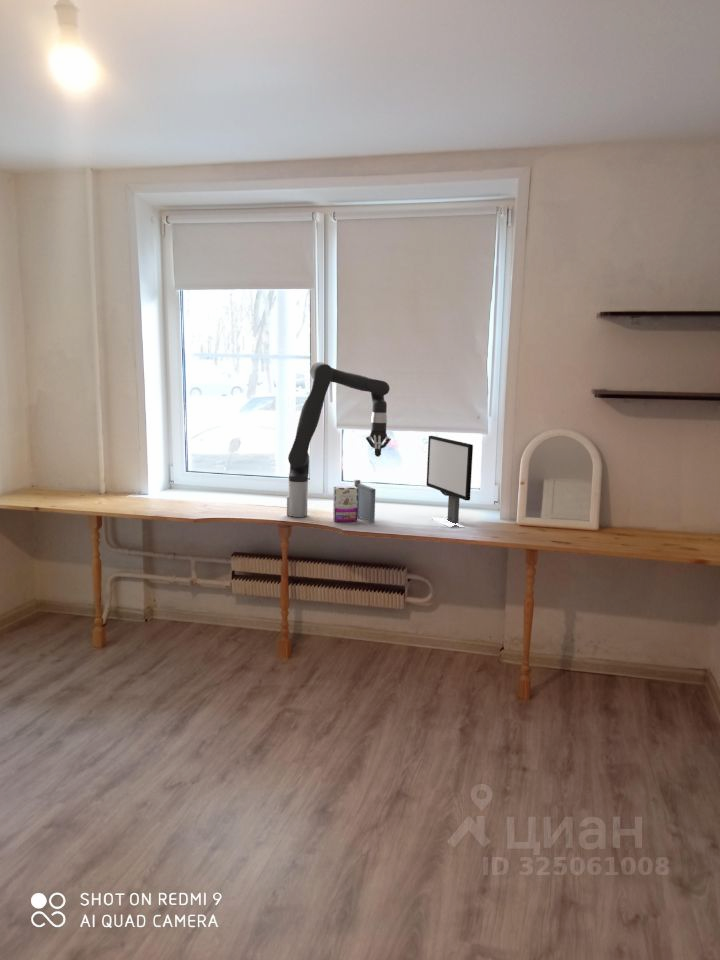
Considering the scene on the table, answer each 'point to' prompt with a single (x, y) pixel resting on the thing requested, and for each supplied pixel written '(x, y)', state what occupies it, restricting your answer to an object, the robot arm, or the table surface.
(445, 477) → the computer monitor
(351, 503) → the candy bar box
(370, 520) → the gate
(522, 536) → the table surface
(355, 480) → the hinge post
